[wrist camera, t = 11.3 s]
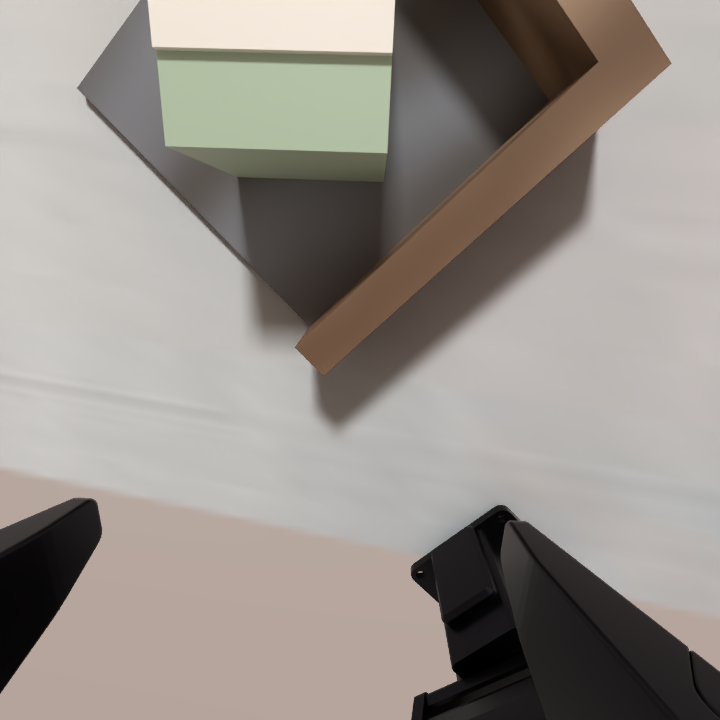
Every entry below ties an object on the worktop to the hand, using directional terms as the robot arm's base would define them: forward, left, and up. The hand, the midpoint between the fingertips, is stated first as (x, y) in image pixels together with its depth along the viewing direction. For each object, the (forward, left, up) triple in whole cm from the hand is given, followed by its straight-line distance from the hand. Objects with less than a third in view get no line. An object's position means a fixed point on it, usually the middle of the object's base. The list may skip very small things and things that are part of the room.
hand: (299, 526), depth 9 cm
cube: (+9, -7, -11) cm, 15 cm away
